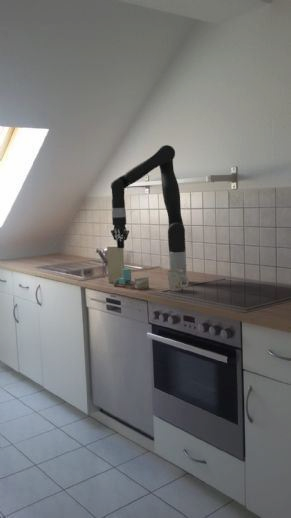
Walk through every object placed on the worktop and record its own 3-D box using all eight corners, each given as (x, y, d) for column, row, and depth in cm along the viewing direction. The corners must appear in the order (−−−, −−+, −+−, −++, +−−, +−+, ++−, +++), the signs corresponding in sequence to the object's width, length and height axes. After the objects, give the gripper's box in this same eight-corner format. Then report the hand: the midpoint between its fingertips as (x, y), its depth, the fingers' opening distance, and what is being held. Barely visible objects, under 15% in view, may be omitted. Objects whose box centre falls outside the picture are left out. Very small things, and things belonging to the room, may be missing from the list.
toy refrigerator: (125, 280, 299) (123, 245, 296) (121, 283, 292) (119, 246, 289) (112, 280, 301) (110, 245, 298) (108, 282, 294) (106, 246, 291)
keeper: (131, 283, 281) (130, 268, 280) (124, 284, 277) (123, 270, 276) (125, 282, 284) (124, 268, 283) (118, 283, 281) (117, 269, 280)
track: (148, 287, 273) (148, 276, 272) (137, 290, 267) (137, 278, 267) (124, 284, 287) (124, 273, 287) (113, 286, 282) (113, 275, 281)
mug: (174, 288, 269) (173, 269, 267) (193, 290, 261) (193, 270, 259) (164, 290, 262) (163, 271, 261) (184, 292, 254) (183, 273, 253)
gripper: (132, 215, 275) (134, 247, 277) (116, 215, 285) (118, 246, 287) (121, 216, 270) (123, 249, 272) (105, 216, 280) (107, 248, 282)
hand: (120, 247), depth 280 cm, fingers closed
